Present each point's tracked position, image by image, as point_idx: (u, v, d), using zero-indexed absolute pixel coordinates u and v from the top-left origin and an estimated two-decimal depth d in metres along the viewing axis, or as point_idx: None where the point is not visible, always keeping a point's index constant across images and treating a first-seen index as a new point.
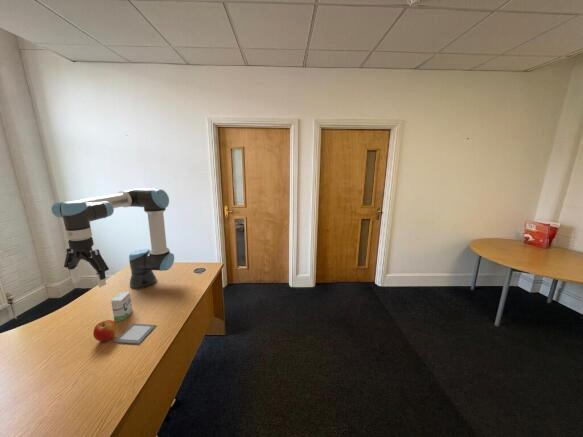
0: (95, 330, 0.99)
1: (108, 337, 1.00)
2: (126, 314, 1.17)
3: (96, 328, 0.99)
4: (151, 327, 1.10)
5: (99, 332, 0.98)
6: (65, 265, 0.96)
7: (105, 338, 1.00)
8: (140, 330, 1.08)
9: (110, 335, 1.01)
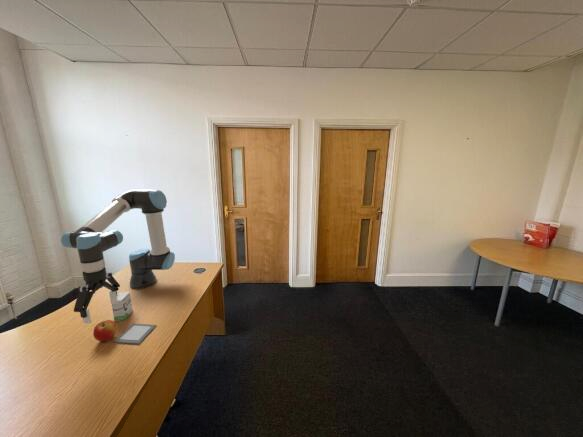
0: (95, 330, 0.99)
1: (108, 337, 1.00)
2: (126, 314, 1.17)
3: (96, 328, 0.99)
4: (151, 327, 1.10)
5: (99, 332, 0.98)
6: None
7: (105, 338, 1.00)
8: (140, 330, 1.08)
9: (110, 335, 1.01)
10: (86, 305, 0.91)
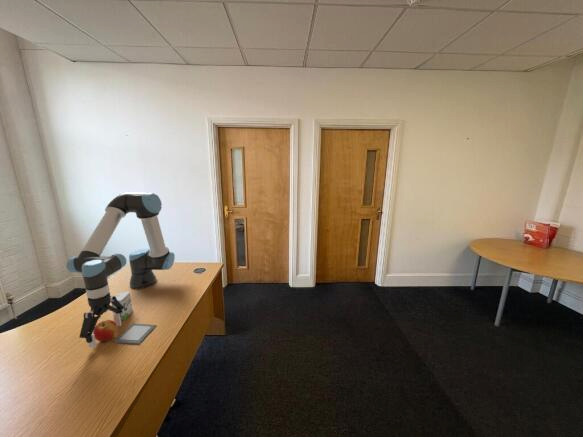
0: (95, 330, 0.99)
1: (108, 337, 1.00)
2: (126, 314, 1.17)
3: (96, 328, 0.99)
4: (151, 327, 1.10)
5: (99, 332, 0.98)
6: None
7: (105, 338, 1.00)
8: (140, 330, 1.08)
9: (110, 335, 1.01)
10: (91, 330, 0.94)
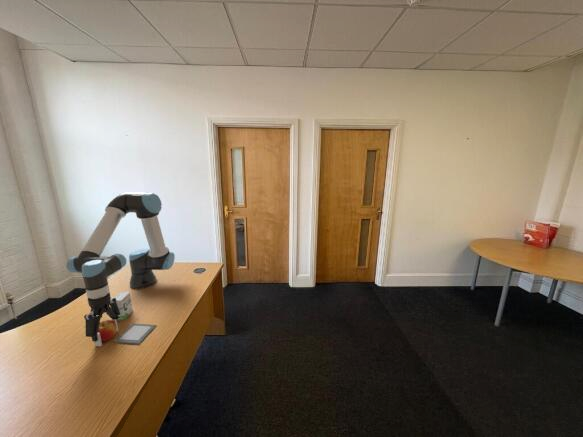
0: None
1: (108, 337, 1.00)
2: (126, 314, 1.17)
3: None
4: (151, 327, 1.10)
5: (99, 332, 0.98)
6: None
7: (105, 338, 1.00)
8: (140, 330, 1.08)
9: (110, 335, 1.01)
10: (96, 330, 0.96)
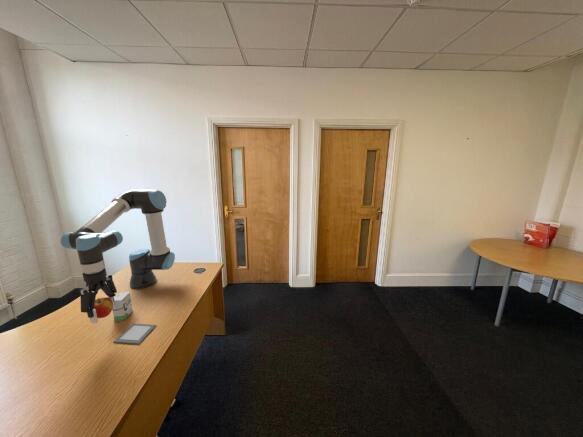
0: None
1: (104, 314, 0.98)
2: (126, 314, 1.17)
3: None
4: (151, 327, 1.10)
5: (95, 308, 0.96)
6: None
7: (101, 315, 0.97)
8: (140, 330, 1.08)
9: (106, 312, 0.98)
10: (92, 306, 0.94)
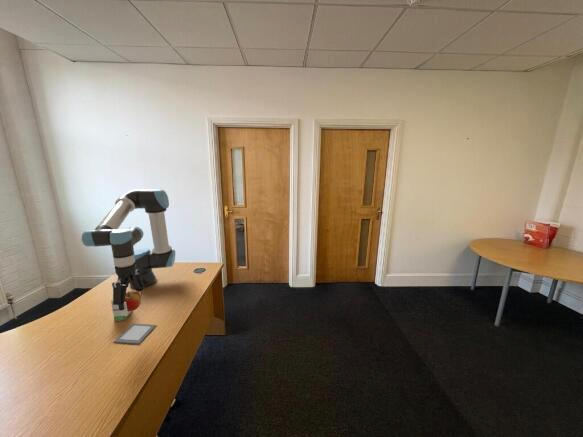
0: None
1: (134, 307, 1.01)
2: None
3: None
4: (151, 327, 1.10)
5: (125, 301, 0.99)
6: None
7: (131, 308, 1.00)
8: (140, 330, 1.08)
9: (136, 305, 1.01)
10: (123, 298, 0.97)
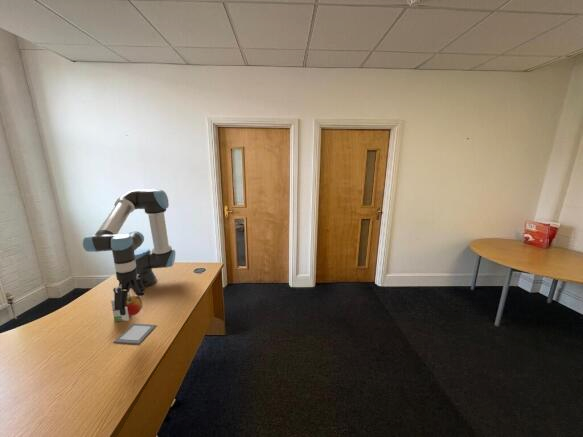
0: None
1: (135, 311, 1.01)
2: None
3: None
4: (151, 327, 1.10)
5: (126, 306, 0.99)
6: None
7: (132, 313, 1.01)
8: (140, 330, 1.08)
9: (137, 310, 1.02)
10: (124, 304, 0.97)
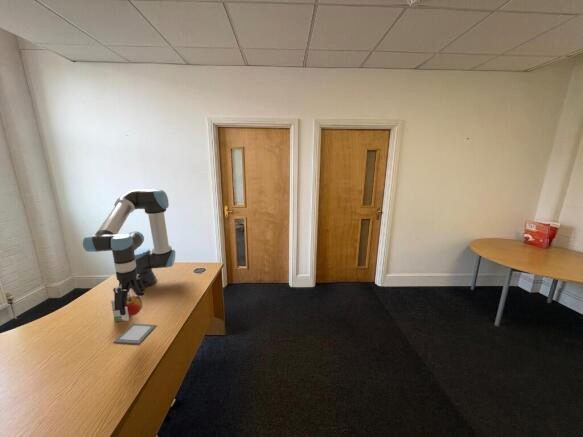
0: None
1: (135, 311, 1.01)
2: None
3: None
4: (151, 327, 1.10)
5: (126, 306, 0.99)
6: None
7: (132, 313, 1.01)
8: (140, 330, 1.08)
9: (137, 310, 1.02)
10: (124, 304, 0.97)
